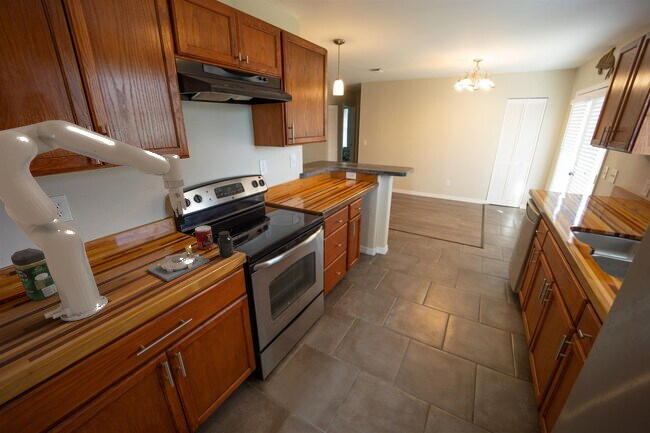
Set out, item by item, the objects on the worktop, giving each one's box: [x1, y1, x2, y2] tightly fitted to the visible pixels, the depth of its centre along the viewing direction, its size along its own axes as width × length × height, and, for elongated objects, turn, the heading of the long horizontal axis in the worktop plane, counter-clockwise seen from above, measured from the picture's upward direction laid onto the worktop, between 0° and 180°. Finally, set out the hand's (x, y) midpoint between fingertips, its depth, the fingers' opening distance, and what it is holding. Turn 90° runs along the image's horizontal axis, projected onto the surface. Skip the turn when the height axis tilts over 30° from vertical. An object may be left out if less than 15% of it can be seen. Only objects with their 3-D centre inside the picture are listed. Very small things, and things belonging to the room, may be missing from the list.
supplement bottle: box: [217, 230, 235, 258], centre depth 130 cm, size 7×7×12 cm
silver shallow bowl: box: [157, 244, 198, 273], centre depth 120 cm, size 15×16×6 cm
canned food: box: [194, 225, 214, 251], centre depth 139 cm, size 8×8×11 cm
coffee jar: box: [10, 247, 58, 301], centre depth 98 cm, size 10×8×19 cm
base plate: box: [146, 252, 211, 282], centre depth 121 cm, size 20×17×1 cm
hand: (181, 224), depth 118 cm, fingers closed
